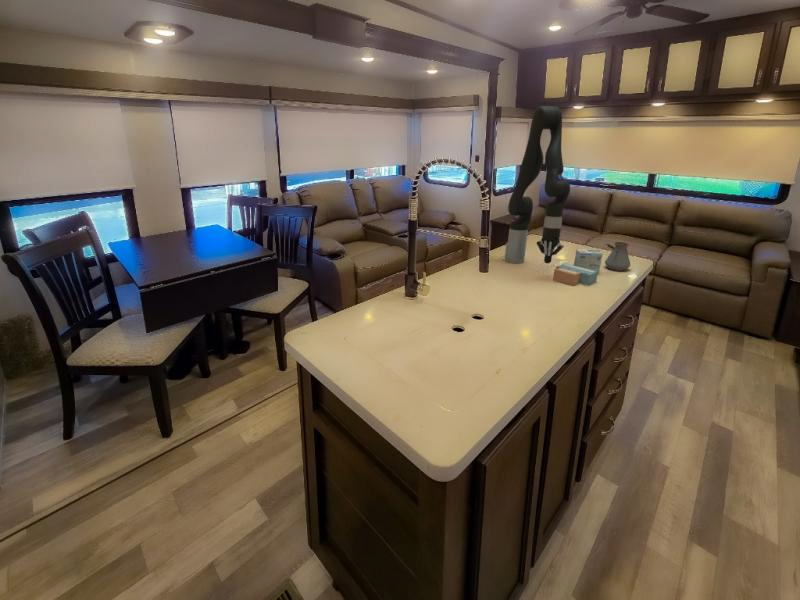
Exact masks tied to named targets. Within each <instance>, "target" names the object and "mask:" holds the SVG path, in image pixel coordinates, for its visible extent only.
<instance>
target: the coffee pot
mask: <svg viewBox="0 0 800 600" xmlns="http://www.w3.org/2000/svg"><path fill="white" fill-rule="evenodd" d="M606 246H607V248H610V249H611V250H612V251H611V252H610V254H609V255H607V256H608V257H607V258H606V259H605V261H604V264H605V266H606V267H607V269H608V270H611V271H618V272H624V271H625V270H627V269H629V268H630V267H631V261H630V257H629V252H628V246H630V244H629V243H628V242H627V243H626V242H621V241H618V242H617V241H615V242H614V246H613V245H611V244H609V243H606V244H604V245H603V247H606Z"/></svg>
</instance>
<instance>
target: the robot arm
mask: <svg viewBox="0 0 800 600" xmlns="http://www.w3.org/2000/svg"><path fill="white" fill-rule="evenodd" d="M562 116H563V114H562V109H560V107H559V106H556V105H555V106H551V105H540V106H538V107H537V108H536V109H535V110H534V112H533V115H532V119H531V124H530V129H529V135H528V140H527V144H526V148H525V152H524V155H523V158H522V161H521V164H520V169H519V172H518V176H517V179H516V182H515V186H514V189H513V190H512V193H511V196H510V198H509V201H508V205H507V206H508V207H507V208H508V209H507V210H508V214H509V215H511V216H513V217H514V216H515V217H516V216H518V217H517V218H516V219H514V220H513V221H511V222H510V224H509V230H508V238H507V242H506V243H505V250H504V253H505V254H504V259H503V260H504V261H506V262H508V263H511V264H523V263H524V262H525V257H526V250H527V249H526V247H527V241H528V232H529V227H530V225H531V222H532V221H531V220H532V215H533V208H534V203H533V199H532V198H531V197H530V196H524V195H525V193H526V191H527V189H528V188H529V187H530V186H531V185H532V184H533V182H534V181H535V180H536V179H537V178H538V177H539V175H540V173H541V170H542V167H543V164H545V170H546V171H545V172H546V174H545V182H544V183H545V184H544V192H545V195H546V196H547V197H549V198H555V199H554V200H553V201H550V202H549V203H547V204H546V210H545V216H544V220H543V221H544V222H543V227H542V228H543V229H542V237H541V239H540V240H538V241H536V245H537V247H538V249H539V250H540V253H541V254H543V255H544V260H543V261H544V264H550V263H551V262H552V258H553V256H555V255H557V254H558V253H559V252H560V251H561V250H562V249H563V248H564V247H565V245H564V244H561V242H560V241H561V240H560V237H561V230H562V225H563V212H564V206H565V204H566V203H567V200H568V197H569V195H570V192H571V185H570V183H569V181H568V180H566V179H561V180H560V179H557V176H560V175H562V174H563V173H564V163H563V154H562V135H563V133H562V132H563V117H562ZM544 130H549V133H550V141H549V144H548V147H547V149H546V152H545V154H544V153H543V150H542V146H541V138H542V134H543V131H544ZM544 155H545V156H544Z"/></svg>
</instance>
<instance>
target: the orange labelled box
mask: <svg viewBox="0 0 800 600" xmlns="http://www.w3.org/2000/svg"><path fill="white" fill-rule="evenodd" d="M580 274H581V273H580V272H576V271H572V270H568V269H564V268H557V269H556V268H555V269H554V270H553V276H552V280H553V281H556V282H558V283H563V284H566V285H569V286H572V287H573V286H575V285H578V284H580V283H579V280H580Z"/></svg>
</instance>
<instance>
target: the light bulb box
mask: <svg viewBox="0 0 800 600" xmlns="http://www.w3.org/2000/svg"><path fill="white" fill-rule="evenodd" d="M602 259H603V251H600V250H599V249H583V248H582V249H579V248H577V249H576V250H575V257H574V261H573V265H574V266H578V267H582V268H587V269H591V270H595V271H598V275H600V270H601V265H602Z"/></svg>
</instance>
